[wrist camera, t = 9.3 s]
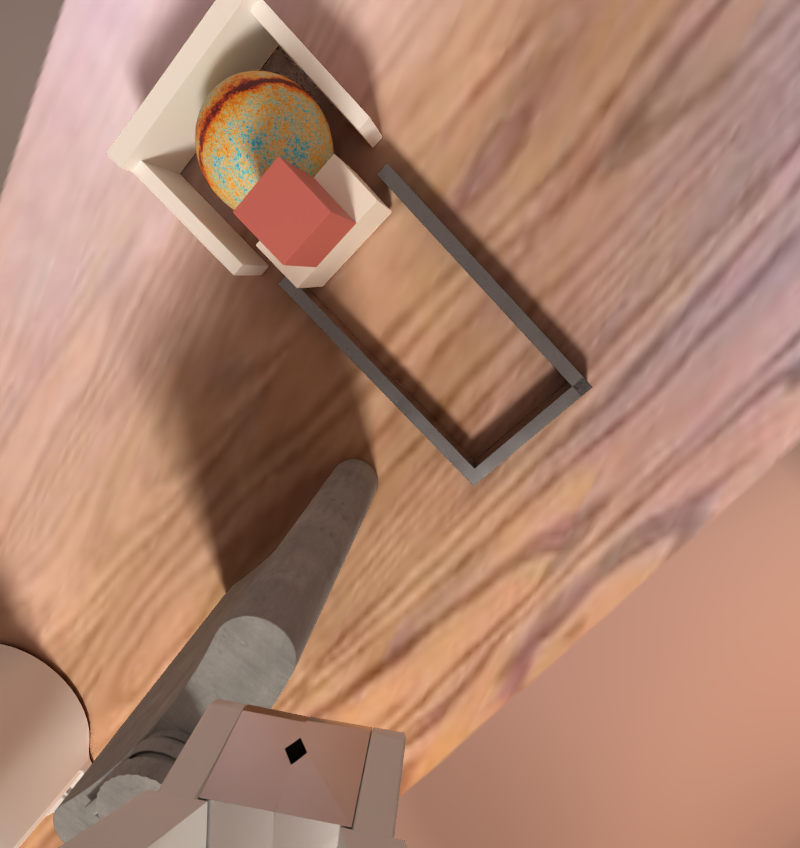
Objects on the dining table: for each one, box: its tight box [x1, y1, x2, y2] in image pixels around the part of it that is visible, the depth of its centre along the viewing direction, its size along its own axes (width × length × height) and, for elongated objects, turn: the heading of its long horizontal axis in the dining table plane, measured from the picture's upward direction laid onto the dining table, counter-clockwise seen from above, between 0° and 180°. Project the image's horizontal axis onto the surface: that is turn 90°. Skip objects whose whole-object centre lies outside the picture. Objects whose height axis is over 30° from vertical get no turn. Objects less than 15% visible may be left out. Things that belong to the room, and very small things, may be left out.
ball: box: [195, 71, 334, 210], centre depth 29 cm, size 7×7×7 cm
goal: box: [107, 0, 382, 276], centre depth 29 cm, size 11×8×5 cm
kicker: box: [233, 154, 392, 288], centre depth 27 cm, size 6×3×10 cm, turn 134°
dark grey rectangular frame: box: [278, 163, 592, 486], centre depth 33 cm, size 9×17×2 cm, turn 45°
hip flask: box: [53, 459, 378, 843], centre depth 29 cm, size 16×4×20 cm, turn 140°
